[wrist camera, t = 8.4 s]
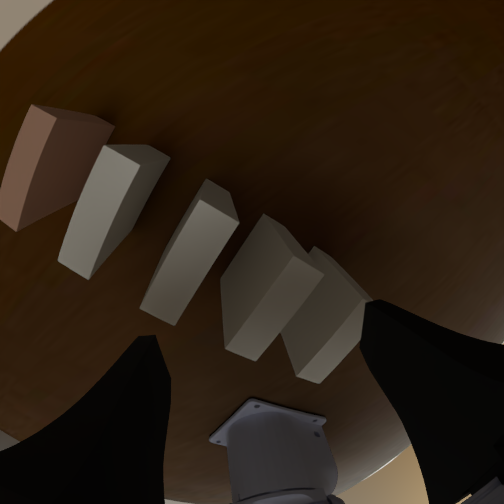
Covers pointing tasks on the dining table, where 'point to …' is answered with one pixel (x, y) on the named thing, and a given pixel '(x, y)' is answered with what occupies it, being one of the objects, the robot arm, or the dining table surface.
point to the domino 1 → (50, 163)
